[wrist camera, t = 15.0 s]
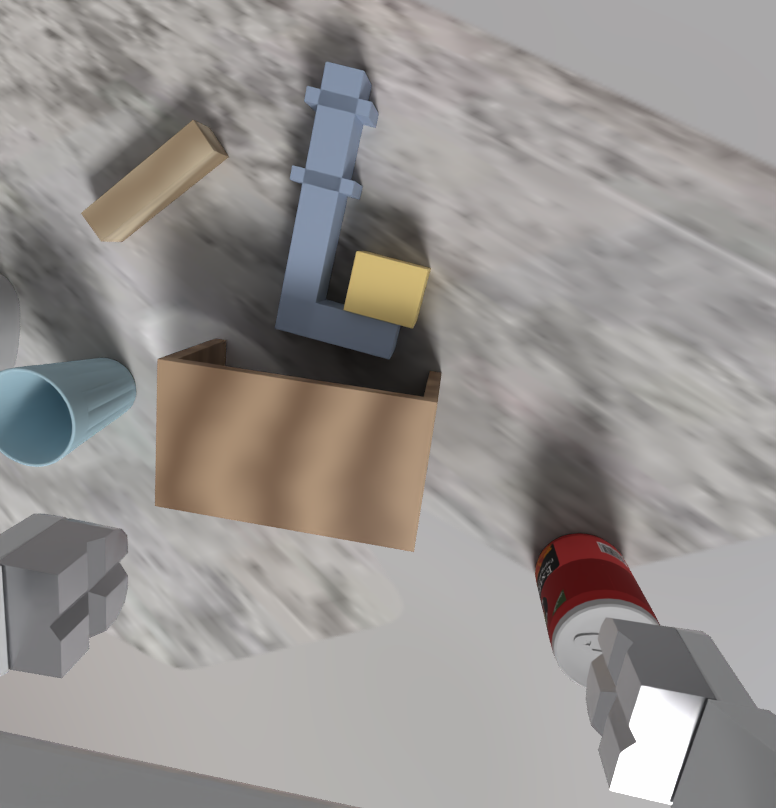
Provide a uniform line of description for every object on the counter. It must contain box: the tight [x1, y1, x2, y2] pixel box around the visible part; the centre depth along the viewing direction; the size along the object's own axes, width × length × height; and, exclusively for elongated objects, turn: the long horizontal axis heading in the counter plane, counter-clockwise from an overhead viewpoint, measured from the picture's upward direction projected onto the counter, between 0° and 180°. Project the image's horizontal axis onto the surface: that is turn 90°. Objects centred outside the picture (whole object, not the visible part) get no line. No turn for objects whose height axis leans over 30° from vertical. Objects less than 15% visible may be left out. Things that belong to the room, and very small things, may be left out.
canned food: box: [535, 533, 660, 688], centre depth 46 cm, size 8×8×11 cm
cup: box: [0, 358, 136, 467], centre depth 47 cm, size 8×8×10 cm
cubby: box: [155, 339, 441, 552], centre depth 46 cm, size 20×12×10 cm, turn 83°
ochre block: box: [343, 251, 431, 328], centre depth 45 cm, size 6×4×4 cm
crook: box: [275, 62, 401, 359], centre depth 44 cm, size 10×19×4 cm, turn 166°
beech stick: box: [81, 120, 228, 242], centre depth 46 cm, size 3×12×3 cm, turn 123°
